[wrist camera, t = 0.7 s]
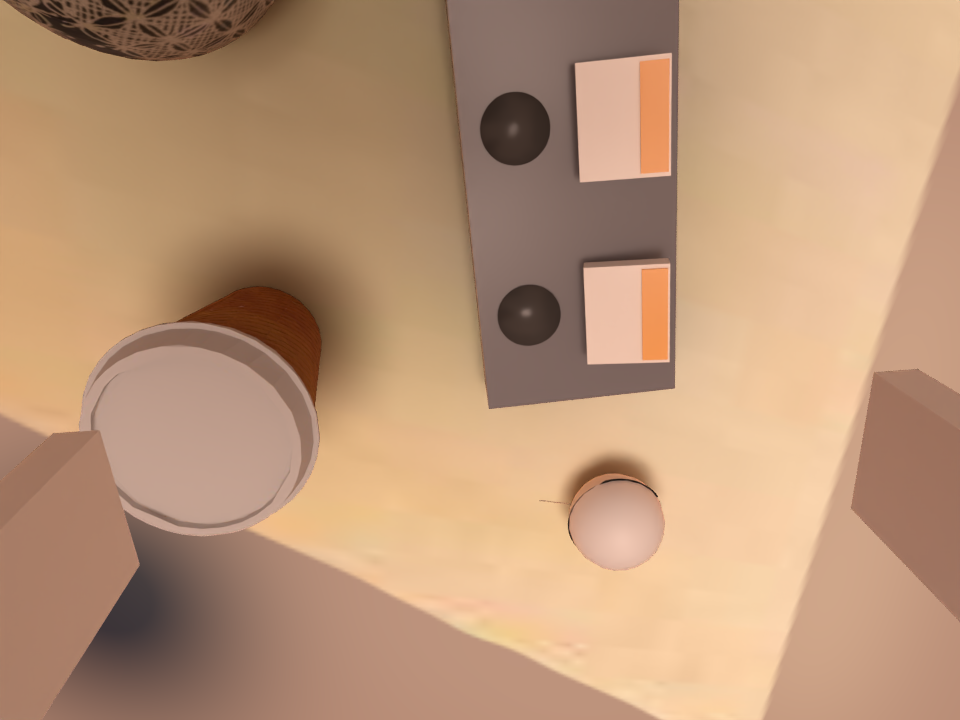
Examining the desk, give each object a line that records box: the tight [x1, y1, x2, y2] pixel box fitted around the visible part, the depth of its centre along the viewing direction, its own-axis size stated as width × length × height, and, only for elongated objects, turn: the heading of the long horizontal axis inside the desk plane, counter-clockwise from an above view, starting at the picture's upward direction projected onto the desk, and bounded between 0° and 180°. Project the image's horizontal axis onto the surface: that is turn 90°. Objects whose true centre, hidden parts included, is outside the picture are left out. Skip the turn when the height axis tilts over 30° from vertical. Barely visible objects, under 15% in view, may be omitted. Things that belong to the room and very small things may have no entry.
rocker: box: [583, 258, 670, 364], centre depth 34 cm, size 5×4×1 cm
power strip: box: [445, 0, 679, 409], centre depth 33 cm, size 28×10×4 cm, turn 6°
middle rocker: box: [575, 53, 672, 182], centre depth 30 cm, size 5×4×1 cm
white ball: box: [539, 473, 665, 571], centre depth 41 cm, size 8×6×6 cm
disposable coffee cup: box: [79, 286, 321, 536], centre depth 33 cm, size 10×10×12 cm
